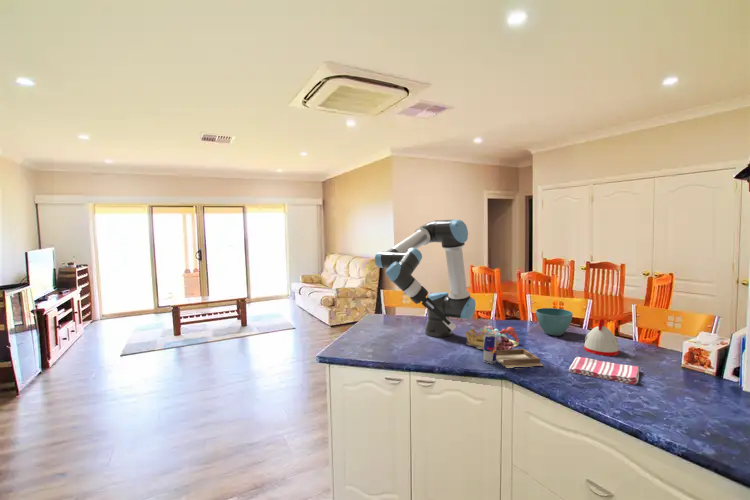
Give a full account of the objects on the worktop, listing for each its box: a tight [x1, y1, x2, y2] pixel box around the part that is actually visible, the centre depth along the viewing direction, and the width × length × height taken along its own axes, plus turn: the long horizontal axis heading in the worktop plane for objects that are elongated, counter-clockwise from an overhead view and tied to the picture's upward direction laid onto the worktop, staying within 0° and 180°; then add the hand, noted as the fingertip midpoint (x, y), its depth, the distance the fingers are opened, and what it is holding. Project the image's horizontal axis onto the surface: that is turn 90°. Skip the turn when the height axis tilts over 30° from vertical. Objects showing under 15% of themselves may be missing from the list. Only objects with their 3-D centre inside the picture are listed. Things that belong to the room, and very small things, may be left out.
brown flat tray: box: [496, 348, 544, 369], centre depth 164 cm, size 18×16×3 cm
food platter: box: [465, 325, 520, 351], centre depth 188 cm, size 25×24×9 cm
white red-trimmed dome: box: [584, 318, 620, 357], centre depth 174 cm, size 14×14×15 cm
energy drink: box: [483, 334, 497, 365], centre depth 163 cm, size 5×5×12 cm
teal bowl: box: [535, 307, 574, 337], centre depth 203 cm, size 18×18×12 cm
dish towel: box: [568, 356, 640, 386], centre depth 149 cm, size 17×23×4 cm
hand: (453, 328), depth 160 cm, fingers closed
